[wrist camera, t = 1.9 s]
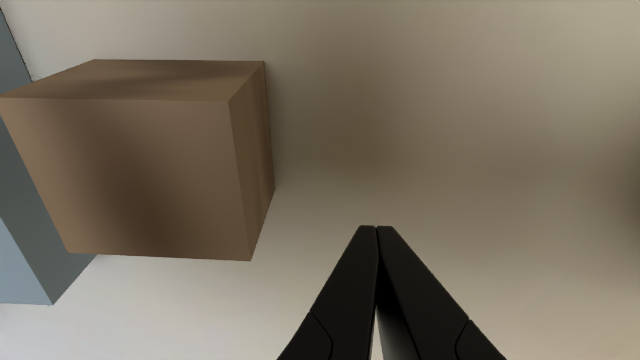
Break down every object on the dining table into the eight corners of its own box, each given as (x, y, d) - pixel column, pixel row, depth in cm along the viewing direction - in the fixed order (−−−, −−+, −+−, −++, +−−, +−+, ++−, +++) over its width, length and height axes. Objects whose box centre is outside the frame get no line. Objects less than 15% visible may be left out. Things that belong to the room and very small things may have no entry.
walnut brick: (264, 60, 14) (228, 101, 10) (275, 188, 17) (250, 261, 13) (95, 58, 15) (-8, 97, 10) (135, 183, 18) (67, 252, 14)
